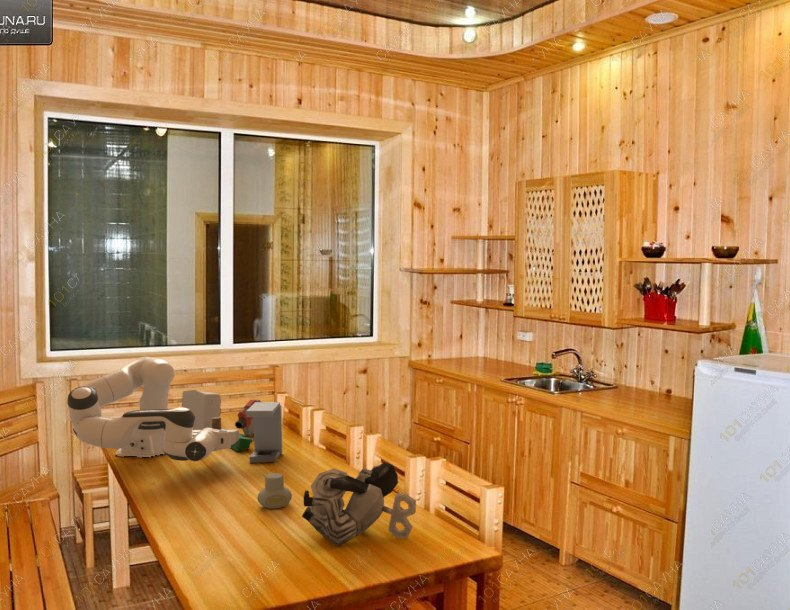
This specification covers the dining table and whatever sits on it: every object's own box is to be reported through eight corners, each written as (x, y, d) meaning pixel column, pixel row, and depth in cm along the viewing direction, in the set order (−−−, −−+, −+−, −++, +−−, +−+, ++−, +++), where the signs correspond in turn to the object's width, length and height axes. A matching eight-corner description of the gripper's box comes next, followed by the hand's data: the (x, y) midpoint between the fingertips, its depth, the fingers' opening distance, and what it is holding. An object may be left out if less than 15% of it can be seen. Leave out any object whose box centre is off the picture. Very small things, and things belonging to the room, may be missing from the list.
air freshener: (258, 512, 232) (258, 481, 231) (256, 503, 240) (255, 473, 239) (293, 508, 235) (292, 477, 234) (290, 500, 243) (289, 470, 242)
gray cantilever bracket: (246, 465, 283) (245, 411, 281) (255, 453, 299) (254, 402, 297) (275, 465, 283) (273, 410, 281) (282, 453, 299) (281, 402, 297)
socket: (249, 463, 286) (249, 456, 286) (255, 455, 296) (255, 449, 296) (275, 463, 286) (275, 456, 285) (279, 455, 296) (279, 449, 295)
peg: (211, 449, 288) (210, 419, 287) (213, 447, 292) (212, 417, 291) (220, 449, 288) (219, 419, 287) (222, 447, 292) (221, 417, 291)
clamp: (247, 460, 306) (255, 442, 303) (234, 459, 302) (241, 440, 300) (240, 443, 315) (247, 425, 313) (227, 441, 312) (234, 424, 310)
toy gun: (238, 445, 325) (232, 415, 319) (258, 420, 342) (252, 392, 337) (246, 445, 324) (240, 416, 318) (266, 421, 341) (260, 393, 336)
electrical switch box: (226, 433, 341) (229, 390, 342) (202, 436, 329) (205, 391, 330) (203, 430, 349) (207, 387, 350) (179, 432, 337) (183, 388, 338)
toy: (289, 524, 219) (363, 470, 237) (359, 591, 202) (433, 529, 219) (284, 476, 207) (363, 423, 224) (359, 543, 189) (437, 481, 207)
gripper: (180, 448, 277) (191, 439, 291) (234, 448, 276) (242, 438, 290) (179, 432, 277) (190, 423, 290) (233, 431, 276) (242, 423, 290)
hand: (217, 431), depth 290 cm, fingers closed on peg, 4 cm apart
